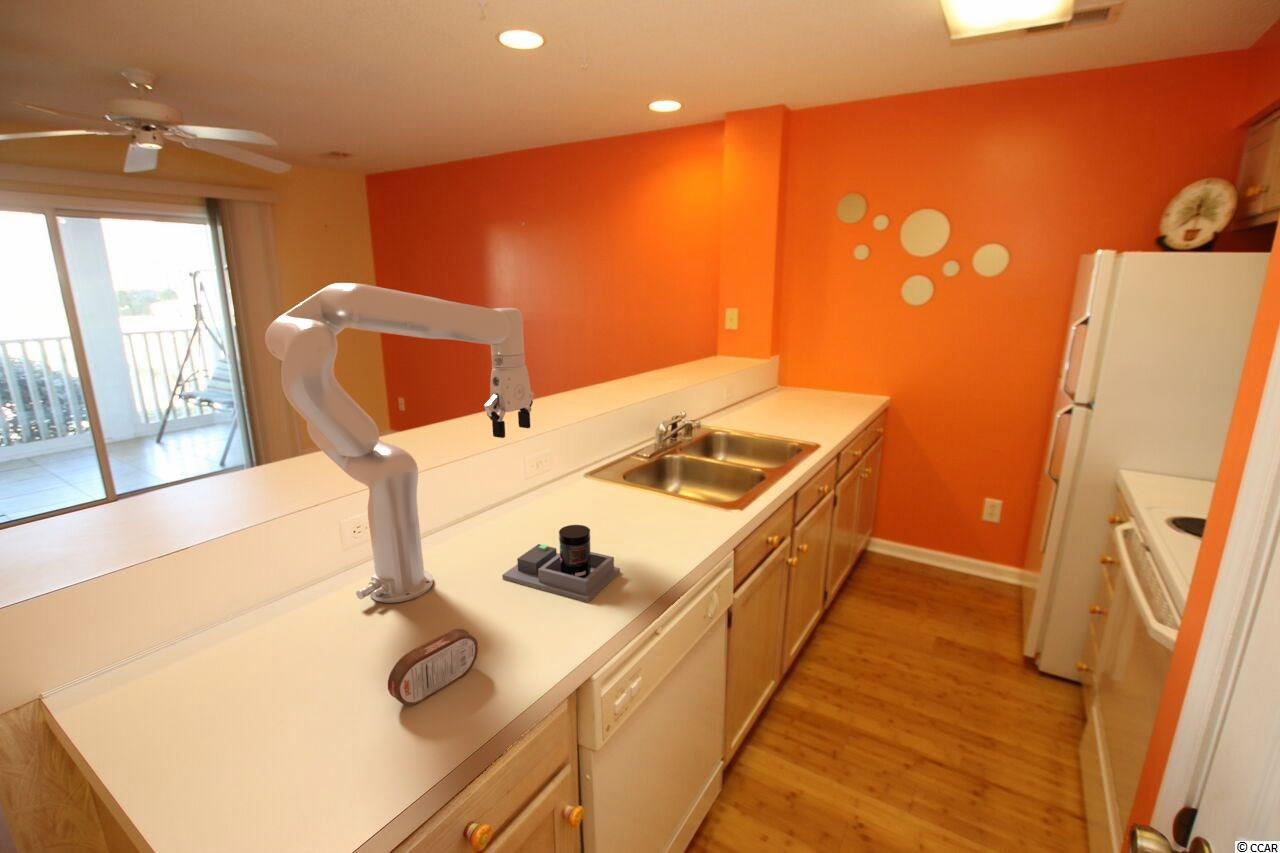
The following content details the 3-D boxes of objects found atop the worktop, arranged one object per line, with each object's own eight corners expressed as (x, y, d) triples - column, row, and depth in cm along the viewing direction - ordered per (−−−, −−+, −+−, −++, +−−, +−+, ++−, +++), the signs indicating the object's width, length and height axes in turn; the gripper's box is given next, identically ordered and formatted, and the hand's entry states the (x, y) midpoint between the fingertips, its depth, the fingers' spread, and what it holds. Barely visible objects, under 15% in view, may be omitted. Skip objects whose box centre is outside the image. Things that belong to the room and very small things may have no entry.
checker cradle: (588, 602, 119) (587, 582, 118) (502, 578, 129) (501, 560, 127) (620, 572, 132) (619, 553, 130) (539, 552, 141) (538, 535, 140)
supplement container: (582, 564, 133) (581, 522, 130) (596, 577, 127) (595, 533, 124) (555, 572, 129) (553, 529, 126) (568, 585, 124) (566, 540, 121)
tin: (471, 660, 101) (468, 618, 99) (482, 668, 100) (479, 625, 97) (389, 709, 90) (383, 662, 88) (399, 718, 88) (394, 670, 86)
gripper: (497, 368, 127) (501, 443, 131) (543, 358, 142) (545, 425, 146) (470, 365, 130) (475, 439, 135) (518, 356, 145) (521, 422, 150)
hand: (512, 432), depth 140 cm, fingers open, 9 cm apart
